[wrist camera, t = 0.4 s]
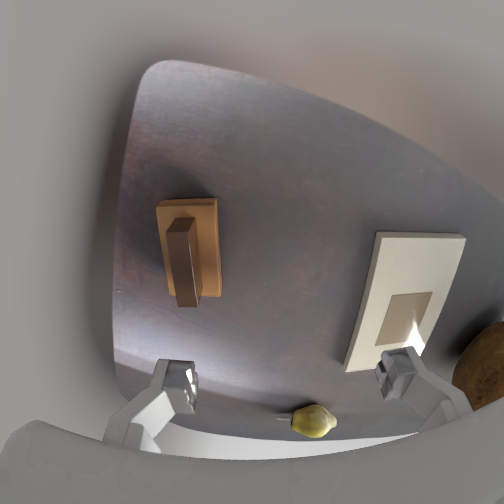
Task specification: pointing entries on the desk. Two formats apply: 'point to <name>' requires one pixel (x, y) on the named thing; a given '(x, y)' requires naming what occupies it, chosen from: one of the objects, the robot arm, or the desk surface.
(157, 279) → the desk surface
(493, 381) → the bowl
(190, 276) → the brush
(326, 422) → the fruit
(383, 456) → the robot arm
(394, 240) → the tile
